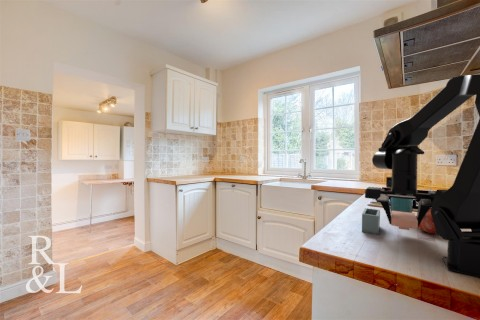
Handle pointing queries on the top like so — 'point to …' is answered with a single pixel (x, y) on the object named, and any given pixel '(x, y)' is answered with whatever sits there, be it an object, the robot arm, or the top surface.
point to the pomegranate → (427, 223)
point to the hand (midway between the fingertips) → (403, 225)
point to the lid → (404, 220)
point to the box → (371, 221)
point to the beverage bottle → (401, 204)
